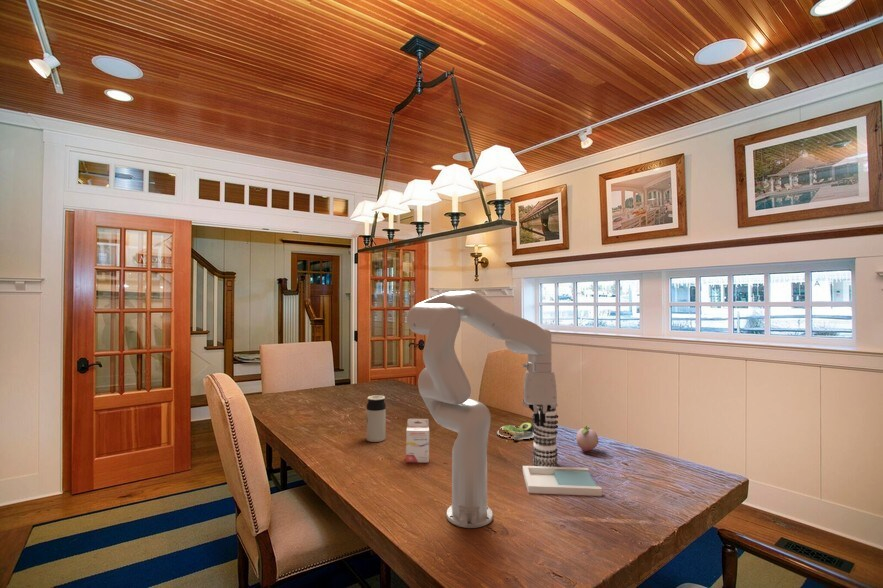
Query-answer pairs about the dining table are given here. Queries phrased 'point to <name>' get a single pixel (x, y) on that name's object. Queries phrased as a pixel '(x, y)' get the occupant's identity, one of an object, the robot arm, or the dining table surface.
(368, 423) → the travel mug
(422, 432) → the ink cartridge box
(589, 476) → the cover plate
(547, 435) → the decorative candle
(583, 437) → the decorative fruit
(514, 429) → the plate of avocado toast
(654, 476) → the dining table surface
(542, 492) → the white flat tray
